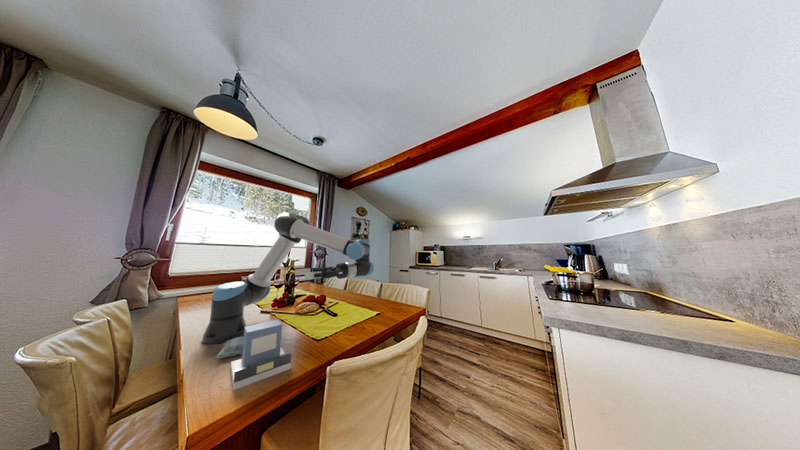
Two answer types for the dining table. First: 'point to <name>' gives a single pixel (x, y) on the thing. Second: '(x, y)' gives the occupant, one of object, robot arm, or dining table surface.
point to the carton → (261, 342)
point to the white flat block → (259, 369)
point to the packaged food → (231, 348)
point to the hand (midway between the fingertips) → (299, 274)
